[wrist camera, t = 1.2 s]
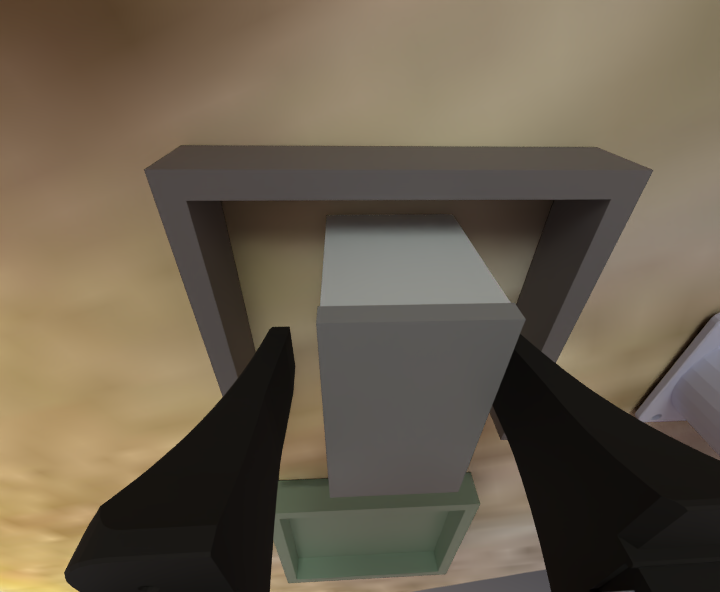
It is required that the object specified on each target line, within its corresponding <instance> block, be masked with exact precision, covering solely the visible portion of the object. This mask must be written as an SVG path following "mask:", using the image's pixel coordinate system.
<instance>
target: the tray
mask: <svg viewBox="0 0 720 592" xmlns="http://www.w3.org/2000/svg"><path fill="white" fill-rule="evenodd" d="M479 506H480V502H479V498H478V495H477V492H476V488H475V485H474V482H473V479H472V475H471V473H466V474H465V476H464V479H463V481H462V484H461V486H460V489H459V491H458V492H448V493H426V494H403V495H380V496H358V497H335V498H330V492H329V480H328V479H307V480H283V481H278V490H277V501H276V512H275V524H274V537H273V540H274V543H275V546H276V549H277V552H278V555H279V558H280V561H281V564H282V566H283V569H284V572H285V575H286V578H287V581H288V583H300V582H318V581H336V580H353V579H371V578H389V577H406V576H424V575H441V574H446V573H447V571H448V569H449V567H450V565H451V562H452V560H453V558H454V556H455V554H456V552H457V550H458V548H459V546H460V544H461V542H462V540H463V538H464V536H465V534H466V532H467V530H468V528H469V526H470V524H471V522H472V520H473V518H474V516H475V514H476V512H477V510H478V508H479Z"/></svg>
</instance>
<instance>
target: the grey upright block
mask: <svg viewBox="0 0 720 592" xmlns="http://www.w3.org/2000/svg"><path fill="white" fill-rule="evenodd" d="M525 320H526V319H525V318H524V316H523V315H522V313H521V312H520V310H519V309H518V307H517V306H516V304H515V303H511V302H510V301H509V299H508V298H507V296H506V295H505V293H504V292H503V290H502V289H501V287H500V286H499V284H498V283H497V281H496V280H495V278H494V277H493V275H492V274H491V272H490V271H489V269H488V268H487V266H486V265H485V263H484V261H483V260H482V258H481V257H480V255H479V254H478V252H477V251H476V249H475V248H474V246H473V245H472V243H471V242H470V240H469V239H468V237H467V236H466V234H465V233H464V231H463V230H462V228H461V227H460V225H459V224H458V222H457V221H456V219H455V217H454V216H453V214H400V215H327V218H326V232H325V246H324V260H323V273H322V287H321V301H320V306H318V308H317V321H316V326H317V339H318V352H319V365H320V378H321V390H322V403H323V416H324V429H325V441H326V454H327V467H328V480H329V492H330V498H335V497H358V496H380V495H403V494H426V493H448V492H458V491H459V489H460V486H461V484H462V481H463V479H464V476H465V474H466V471H467V468H468V466H469V463H470V461H471V458H472V456H473V453H474V450H475V448H476V445H477V443H478V440H479V438H480V435H481V433H482V430H483V427H484V425H485V422H486V420H487V417H488V415H489V412H490V409H491V407H492V404H493V402H494V399H495V397H496V394H497V392H498V389H499V386H500V384H501V381H502V379H503V376H504V374H505V371H506V368H507V366H508V363H509V361H510V358H511V356H512V353H513V351H514V348H515V345H516V343H517V340H518V338H519V335H520V333H521V330H522V327H523V325H524V322H525Z"/></svg>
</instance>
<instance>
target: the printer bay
mask: <svg viewBox="0 0 720 592" xmlns="http://www.w3.org/2000/svg"><path fill="white" fill-rule="evenodd" d="M144 171H145V174H146V177H147V179H148V182H149V185H150V188H151V191H152V194H153V197H154V200H155V203H156V205H157V208H158V211H159V214H160V217H161V220H162V223H163V226H164V229H165V231H166V234H167V237H168V240H169V243H170V246H171V249H172V252H173V255H174V257H175V260H176V263H177V266H178V269H179V272H180V275H181V278H182V281H183V283H184V286H185V289H186V292H187V295H188V298H189V301H190V304H191V306H192V309H193V312H194V315H195V318H196V321H197V324H198V327H199V330H200V332H201V335H202V338H203V341H204V344H205V347H206V350H207V353H208V356H209V358H210V361H211V364H212V367H213V370H214V373H215V376H216V379H217V382H218V384H219V387H220V390H221V393H222V396H224V395H225V394H226V393H227V391H228V390H229V389H230V387H231V386H232V385H233V384H234V382H235V381H236V380H237V378H238V377H239V376H240V375H241V373H242V372H243V370H244V369H245V368H246V366H247V365H248V363H249V362H250V360H251V359H252V357H253V356H254V354H255V348H254V344H253V340H252V335H251V331H250V327H249V322H248V318H247V314H246V309H245V305H244V300H243V296H242V292H241V287H240V283H239V279H238V274H237V270H236V266H235V261H234V257H233V253H232V248H231V244H230V240H229V235H228V231H227V227H226V222H225V218H224V214H223V209H222V205H221V201H251V200H554V202H553V205H552V207H551V210H550V213H549V216H548V219H547V221H546V224H545V227H544V230H543V233H542V235H541V238H540V241H539V244H538V246H537V249H536V252H535V255H534V258H533V260H532V263H531V266H530V269H529V272H528V274H527V277H526V280H525V283H524V286H523V288H522V291H521V294H520V297H519V300H518V302H517V305H516V306H517V307H518V309H519V310H520V312H521V313H522V315H523V316H524V318H525V319H526V320H525V322H524V325H523V327H522V330H521V333H520V334H521V335H522V336H524V337H525V338H526V339H527V340H528V341H529V342H531V343H532V344H533V345H534V346H535V347H536V348H538V349H539V350H540V351H541V352H542V353H544V354H545V355H546V356H547V357H548V358H550V359H551V360H552V361H553V362H555V363H556V361H557V359H558V357H559V355H560V353H561V351H562V349H563V347H564V345H565V344H566V342H567V340H568V338H569V336H570V334H571V332H572V330H573V328H574V326H575V324H576V322H577V320H578V318H579V316H580V314H581V312H582V310H583V308H584V306H585V304H586V302H587V300H588V298H589V296H590V294H591V292H592V290H593V288H594V286H595V284H596V282H597V280H598V278H599V276H600V274H601V272H602V270H603V269H604V267H605V265H606V263H607V261H608V259H609V257H610V255H611V253H612V251H613V249H614V247H615V245H616V243H617V241H618V239H619V237H620V235H621V233H622V231H623V229H624V227H625V225H626V223H627V221H628V219H629V217H630V215H631V213H632V211H633V209H634V207H635V205H636V203H637V201H638V199H639V197H640V195H641V194H642V192H643V190H644V188H645V186H646V184H647V182H648V180H649V178H650V176H651V174H652V172H653V170H652V169H649V168H647V167H644V166H642V165H639V164H637V163H635V162H632V161H630V160H627V159H625V158H622V157H620V156H617V155H615V154H612V153H610V152H607V151H605V150H603V149H600V148H598V147H433V146H211V145H181V146H179V147H178V148H176V149H175V150H173V151H172V152H170V153H169V154H167V155H166V156H164V157H163V158H161V159H159V160H158V161H156V162H155V163H153V164H152V165H150V166H149V167H147V168H146V169H144ZM490 415H491V417H492V419H493V422H494V424H495V427H496V429H497V432H498V434H499V437H500V439H501V440H507V437H506V435H505V433H504V431H503V428H502V426H501V424H500V422H499V419H498V417H497V415H496V413H495V410H494V408H493V406H492V407H491V409H490Z"/></svg>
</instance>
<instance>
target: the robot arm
mask: <svg viewBox="0 0 720 592" xmlns="http://www.w3.org/2000/svg"><path fill="white" fill-rule="evenodd" d="M294 377H295V361H294V354H293V347H292V340H291V333H290V327H272V328H271V329H270V330H269V331H268V333H267V335H266V337H265V338H264V340H263V342H262V343H261V345H260V347H259V348H258V350H257V351H256V353H255V354H254V356H253V357H252V359H251V360H250V362H249V363H248V365H247V366H246V368H245V369H244V370H243V372H242V373H241V375H240V376H239V377H238V378H237V380H236V381H235V382H234V384H233V385H232V386H231V387H230V389H229V390H228V391H227V393H226V394H225V395H224V396H223V397H222V399H221V400H220V401H219V402H218V403H217V404H216V405H215V407H214V408H213V409H212V410H211V411H210V412H209V413H208V414H207V415H206V416H205V417H204V419H203V420H202V421H201V422H200V423H199V424H198V425H197V426H196V427H195V428H194V429H193V430H192V431H191V432H190V433H189V434H188V435H187V436H186V437H184V438H183V439H182V440H181V441H180V442H179V443H178V444H177V445H176V446H175V447H174V448H172V449H171V450H170V451H169V452H168V453H167V454H166V455H164V456H163V457H162V458H161V459H160V460H159V461H157V462H156V463H155V464H154V465H153V466H152V467H151V468H149V469H148V470H147V471H146V472H145V473H143V474H142V475H141V476H140V477H138V478H137V479H136V480H134V481H133V482H132V483H130V484H129V485H128V486H127V487H125V488H124V489H123V490H121V491H120V492H119V493H117V494H116V495H115V496H113V497H112V498H111V499H110V500H108V501H107V502H105V503H104V504H103V505H101V506H100V508H99V509H98V511H97V513H96V514H95V516H94V518H93V519H92V521H91V522H90V524H89V526H88V527H87V529H86V531H85V533H84V535H83V537H82V539H81V541H80V543H79V545H78V546H77V548H76V550H75V552H74V554H73V556H72V558H71V560H70V562H69V564H68V566H67V568H66V570H65V572H64V574H65V579H66V581H67V582H68V583H69V584H70V585H71V586H72V587H73V588H75V589H76V590H78V591H79V592H270V579H271V564H272V550H273V537H274V524H275V512H276V501H277V490H278V480H279V469H280V461H281V455H282V449H283V444H284V439H285V433H286V428H287V423H288V418H289V413H290V408H291V402H292V397H293V390H294ZM492 406H493V408H494V410H495V413H496V415H497V417H498V419H499V422H500V424H501V426H502V428H503V431H504V433H505V435H506V437H507V440H508V442H509V444H510V447H511V449H512V452H513V454H514V457H515V460H516V463H517V466H518V470H519V473H520V476H521V479H522V482H523V485H524V488H525V492H526V495H527V498H528V502H529V505H530V508H531V512H532V515H533V519H534V523H535V527H536V530H537V534H538V538H539V541H540V545H541V549H542V554H543V558H544V562H545V566H546V570H547V574H548V579H549V583H550V588H551V592H720V460H717V459H715V458H713V457H711V456H708V455H706V454H704V453H702V452H700V451H698V450H695V449H693V448H691V447H689V446H687V445H685V444H683V443H681V442H679V441H677V440H675V439H673V438H671V437H669V436H668V435H666V434H664V433H662V432H660V431H658V430H656V429H654V428H653V427H651V426H649V425H647V424H645V423H644V422H661V421H688V422H689V424H690V425H691V426H692V427H693V428H694V429H695V430H696V431H697V432H698V433H699V434H700V435H701V437H702V438H703V439H704V440H705V441H706V442H707V443H708V444H709V445H710V446H711V447H712V449H713V450H714V451H715V452H716V453H717V454H718V455H719V456H720V312H719V313H717V314H715V315H714V316H713V317H712V318H711V319H710V320H709V321H708V322H707V324H706V325H705V326H704V327H703V329H702V330H701V331H700V332H699V334H698V335H697V336H696V337H695V339H694V340H693V341H692V342H691V344H690V345H689V346H688V347H687V349H686V350H685V351H684V352H683V354H682V355H681V356H680V357H679V359H678V360H677V361H676V362H675V364H674V365H673V366H672V367H671V369H670V370H669V371H668V372H667V374H666V375H665V376H664V377H663V379H662V380H661V381H660V382H659V384H658V385H657V386H656V387H655V389H654V390H653V391H652V392H651V394H650V395H649V396H648V397H647V399H646V400H645V401H644V402H643V403H642V405H641V406H640V407H639V408H638V410H637V411H636V413H635V416H636V418H635V417H633V416H632V415H630V414H628V413H626V412H625V411H623V410H621V409H620V408H618V407H617V406H615V405H613V404H612V403H610V402H609V401H607V400H606V399H604V398H603V397H601V396H600V395H598V394H597V393H595V392H594V391H592V390H591V389H589V388H588V387H586V386H585V385H584V384H582V383H581V382H579V381H578V380H577V379H575V378H574V377H573V376H571V375H570V374H569V373H567V372H566V371H565V370H563V369H562V368H561V367H560V366H558V365H557V364H556V363H555V362H553V361H552V360H551V359H550V358H548V357H547V356H546V355H545V354H544V353H542V352H541V351H540V350H539V349H538V348H536V347H535V346H534V345H533V344H532V343H531V342H529V341H528V340H527V339H526V338H525V337H524V336H522V335H521V334H520V335H519V338H518V340H517V343H516V345H515V348H514V351H513V353H512V356H511V358H510V361H509V363H508V366H507V368H506V371H505V374H504V376H503V379H502V381H501V384H500V386H499V389H498V392H497V394H496V397H495V399H494V402H493V404H492Z"/></svg>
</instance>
